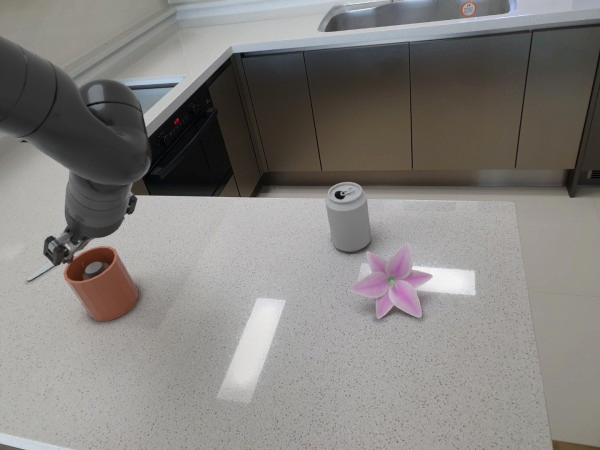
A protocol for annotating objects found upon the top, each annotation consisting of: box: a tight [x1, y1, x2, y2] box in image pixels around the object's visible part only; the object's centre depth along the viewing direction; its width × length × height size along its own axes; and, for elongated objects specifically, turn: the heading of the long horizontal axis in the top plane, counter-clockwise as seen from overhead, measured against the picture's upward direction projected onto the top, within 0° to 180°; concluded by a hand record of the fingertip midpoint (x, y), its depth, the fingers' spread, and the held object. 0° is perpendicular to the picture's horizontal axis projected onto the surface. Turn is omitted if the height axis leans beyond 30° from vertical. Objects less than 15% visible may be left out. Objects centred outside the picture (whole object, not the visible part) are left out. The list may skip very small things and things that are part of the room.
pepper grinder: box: [83, 262, 109, 280], centre depth 84 cm, size 5×5×8 cm
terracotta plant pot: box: [63, 245, 140, 322], centre depth 85 cm, size 13×9×10 cm
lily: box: [348, 241, 434, 320], centre depth 74 cm, size 12×12×10 cm
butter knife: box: [26, 241, 81, 281], centre depth 105 cm, size 1×27×3 cm
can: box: [324, 181, 372, 253], centre depth 85 cm, size 8×8×12 cm
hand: (89, 242), depth 73 cm, fingers open, 8 cm apart
